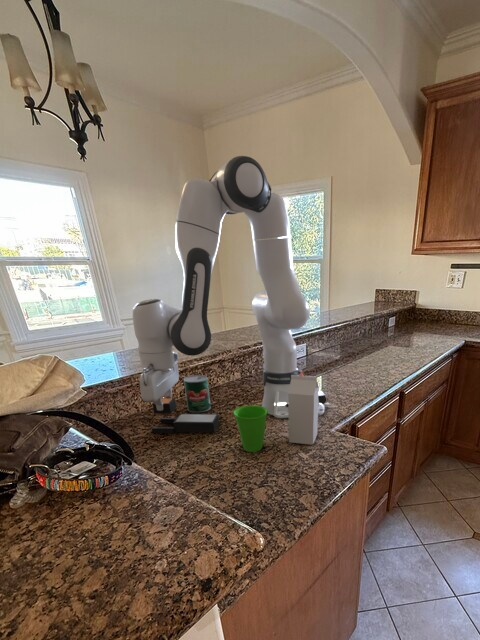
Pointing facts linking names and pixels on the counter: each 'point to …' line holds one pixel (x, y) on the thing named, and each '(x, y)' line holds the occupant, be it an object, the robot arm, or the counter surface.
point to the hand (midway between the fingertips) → (164, 405)
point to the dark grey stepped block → (190, 423)
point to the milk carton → (303, 409)
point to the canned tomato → (197, 393)
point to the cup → (251, 426)
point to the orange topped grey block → (166, 406)
